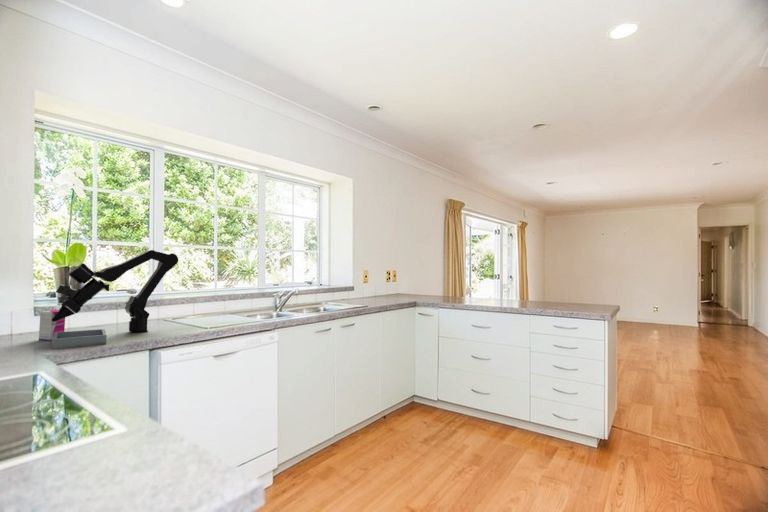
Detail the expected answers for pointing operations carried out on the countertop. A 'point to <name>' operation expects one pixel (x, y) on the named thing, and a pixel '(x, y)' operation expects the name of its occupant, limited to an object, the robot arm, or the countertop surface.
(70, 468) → the countertop surface
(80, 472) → the countertop surface
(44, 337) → the supplement box
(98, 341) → the tray
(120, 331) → the countertop surface
